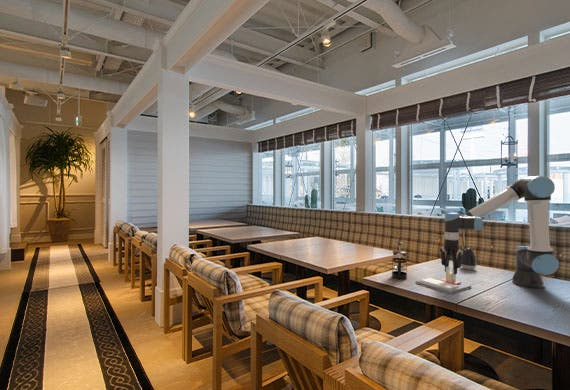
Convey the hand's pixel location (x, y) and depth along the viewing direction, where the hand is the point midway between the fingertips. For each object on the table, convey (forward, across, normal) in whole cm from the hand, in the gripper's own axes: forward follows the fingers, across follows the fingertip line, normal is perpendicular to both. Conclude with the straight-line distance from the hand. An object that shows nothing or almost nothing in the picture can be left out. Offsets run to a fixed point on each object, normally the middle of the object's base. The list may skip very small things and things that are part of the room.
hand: (450, 278), depth 191 cm
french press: (+4, -26, -14) cm, 30 cm away
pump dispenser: (+4, -15, +46) cm, 49 cm away
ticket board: (+4, -2, -5) cm, 7 cm away
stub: (+2, 0, 0) cm, 2 cm away
